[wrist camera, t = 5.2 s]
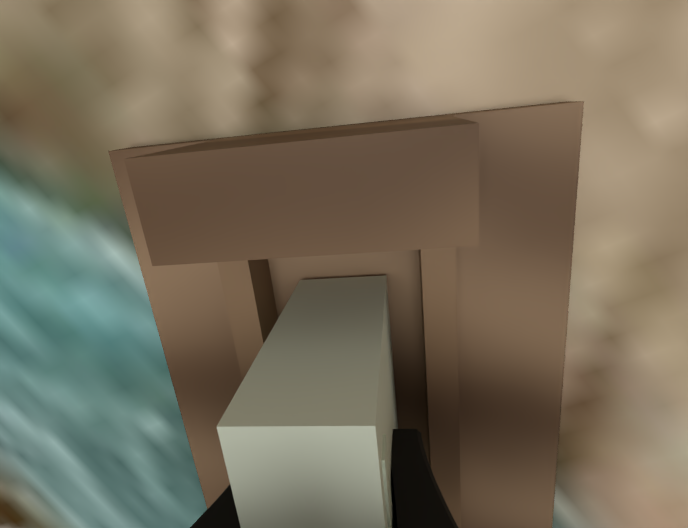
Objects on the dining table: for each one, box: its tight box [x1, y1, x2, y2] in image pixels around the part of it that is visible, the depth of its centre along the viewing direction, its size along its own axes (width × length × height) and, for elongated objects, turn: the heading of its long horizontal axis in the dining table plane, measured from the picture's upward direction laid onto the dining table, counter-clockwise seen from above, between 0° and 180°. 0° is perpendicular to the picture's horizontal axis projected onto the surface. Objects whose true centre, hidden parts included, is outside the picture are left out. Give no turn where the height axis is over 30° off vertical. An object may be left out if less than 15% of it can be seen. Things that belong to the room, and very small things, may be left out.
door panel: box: [217, 275, 398, 528], centre depth 11 cm, size 8×2×6 cm, turn 6°
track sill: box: [108, 102, 584, 528], centre depth 12 cm, size 16×12×5 cm
